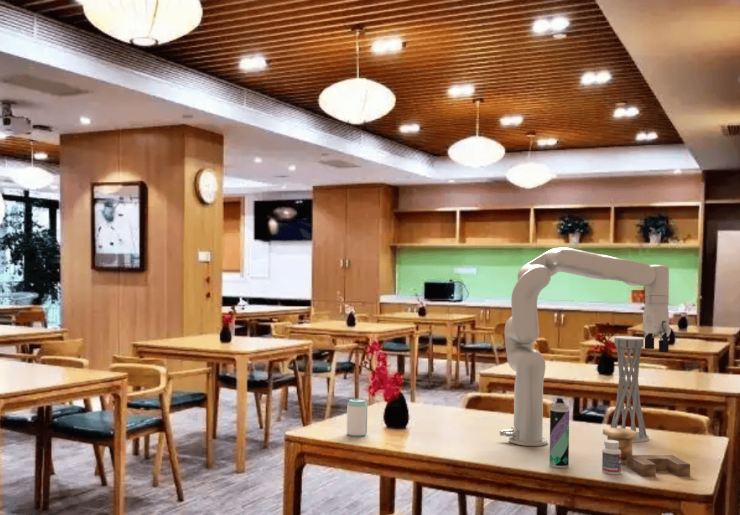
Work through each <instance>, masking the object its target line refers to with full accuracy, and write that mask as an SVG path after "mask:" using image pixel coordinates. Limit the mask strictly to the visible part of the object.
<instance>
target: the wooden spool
mask: <svg viewBox="0 0 740 515" xmlns="http://www.w3.org/2000/svg"><path fill="white" fill-rule="evenodd" d="M637 432H638V431H637V430H636V431H634V430H631V428H630V429H629V428H626V429H624V428H621V427H617V428H611V427H604V428H603V429H602V435H604V436H606V437H607V438H606V440H615V441H618V442H619V447H618V449H620V450H621V466H627V455H633V442H632V438H636V437H637Z"/></svg>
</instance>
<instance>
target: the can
mask: <svg viewBox="0 0 740 515" xmlns="http://www.w3.org/2000/svg"><path fill="white" fill-rule="evenodd" d="M367 433H368V404H367V401H366V399H364V398H350V399H349V400H348V402H347V405H346V434H347V435H348V436H350V437H365V435H366V434H367Z"/></svg>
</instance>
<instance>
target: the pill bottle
mask: <svg viewBox="0 0 740 515" xmlns="http://www.w3.org/2000/svg"><path fill="white" fill-rule="evenodd" d="M603 445H604V447H603V448H602V450H601V452H602V454H601V458H602V459H601V461H602V462H601V472H602V473H604V474H607V475H620V474H621V473H622V465H621V450H620V449H618V447H619V442H618V441H615V440H607V439H606V440H604V443H603Z"/></svg>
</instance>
